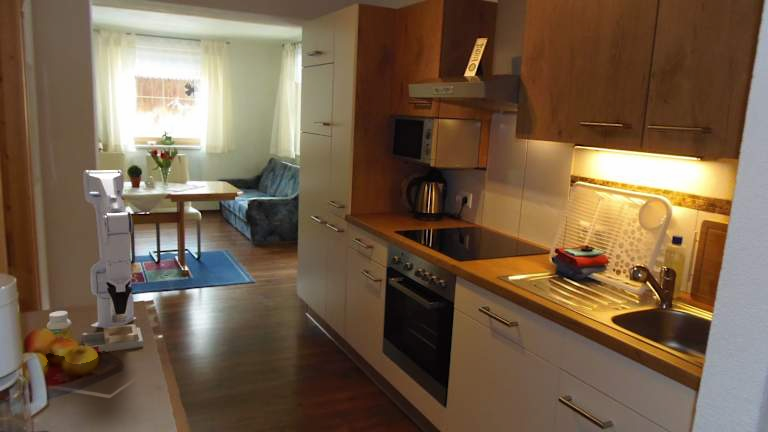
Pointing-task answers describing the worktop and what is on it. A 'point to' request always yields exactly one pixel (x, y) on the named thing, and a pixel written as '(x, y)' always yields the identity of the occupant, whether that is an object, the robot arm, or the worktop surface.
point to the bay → (99, 341)
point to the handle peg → (119, 317)
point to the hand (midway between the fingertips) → (119, 310)
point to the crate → (120, 334)
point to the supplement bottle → (60, 324)
